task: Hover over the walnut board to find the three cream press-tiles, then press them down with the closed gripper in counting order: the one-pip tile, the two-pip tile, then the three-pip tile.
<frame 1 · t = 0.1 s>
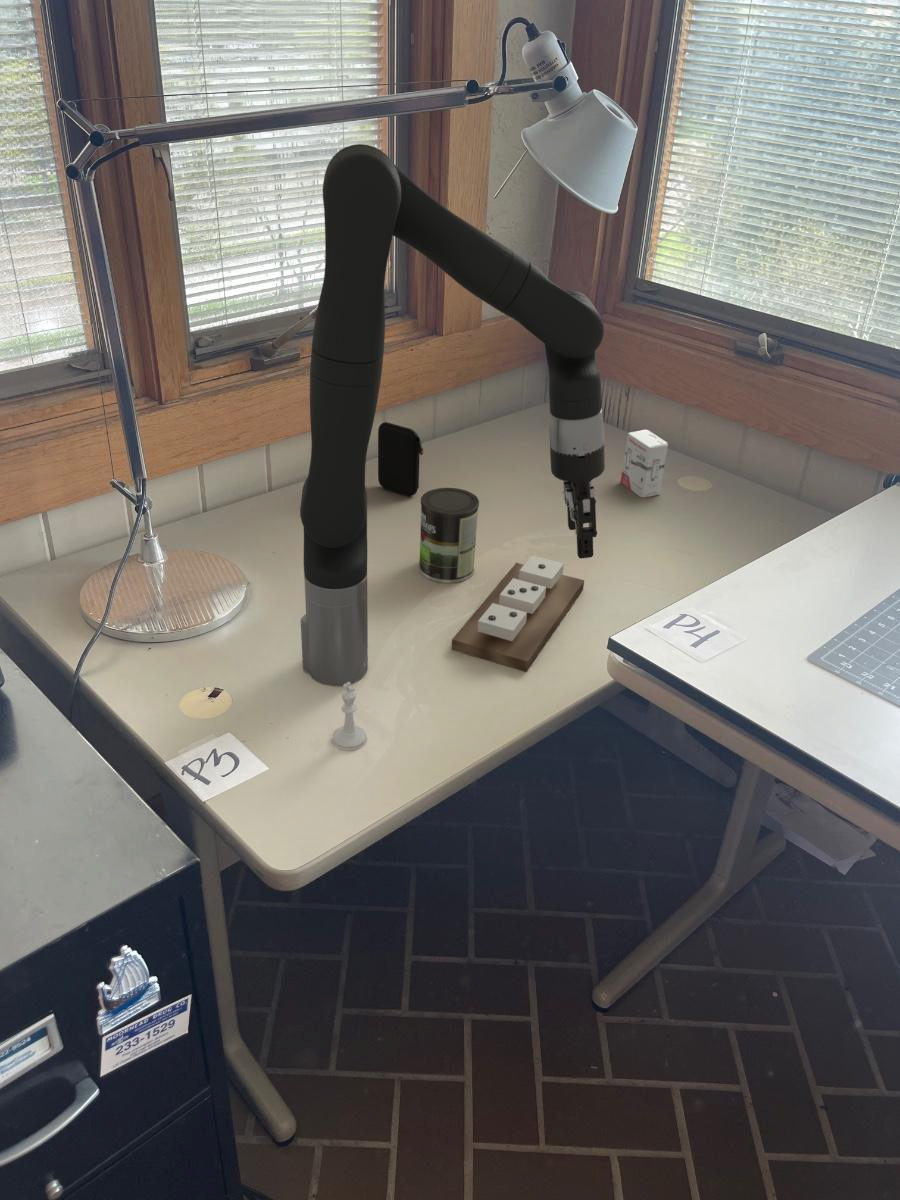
hand: (580, 542, 149), 22 cm above the table, tool pointing down, fingers open, 8 cm apart
tile one: (541, 571, 177), point 5 cm above the table, slide at 0.0 cm
tile three: (522, 595, 170), point 5 cm above the table, slide at 0.0 cm
chess piece: (349, 740, 144), on the table
carrying case or bag: (399, 493, 211), on the table
ink box: (639, 489, 218), on the table
tile two: (502, 621, 163), point 5 cm above the table, slide at 0.0 cm
coffee can: (446, 570, 185), on the table
tile board: (520, 618, 172), on the table
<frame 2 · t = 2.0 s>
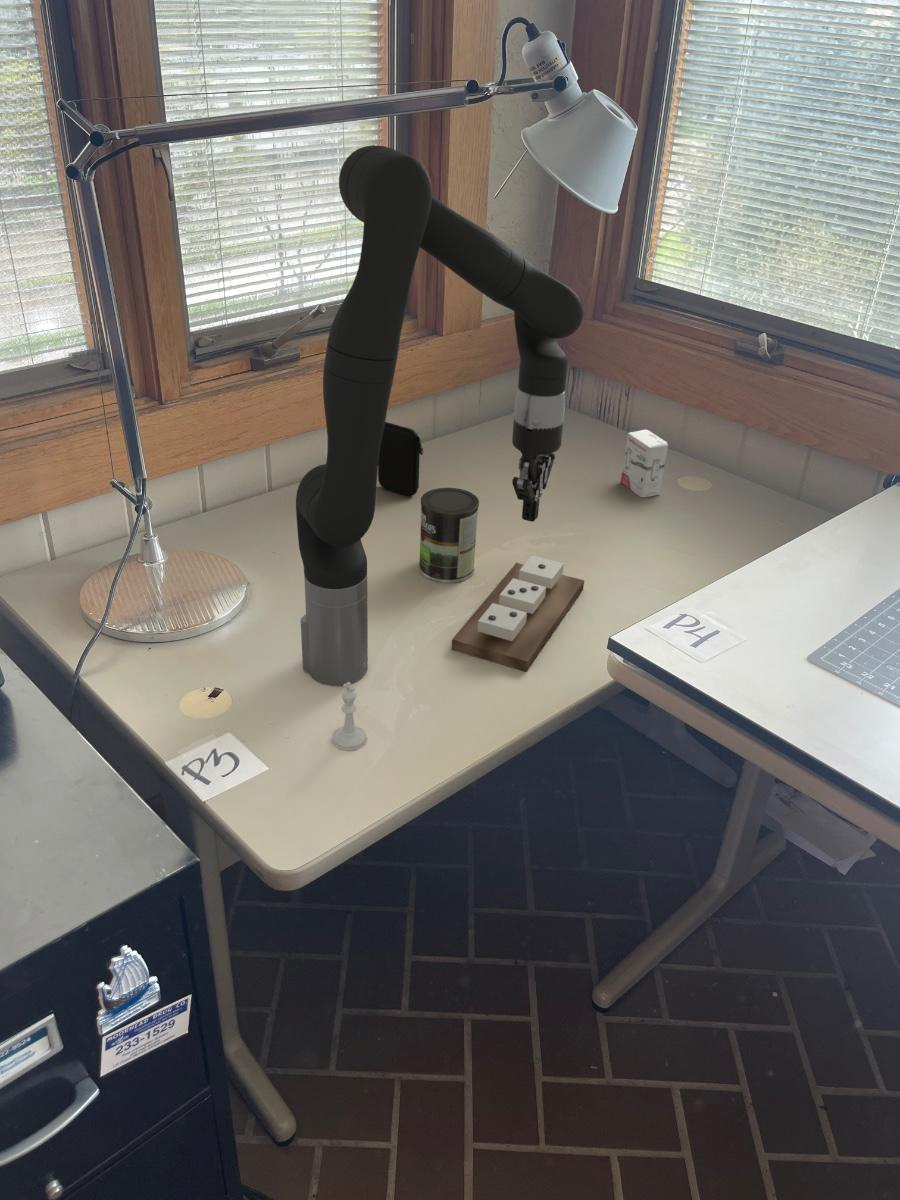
hand: (529, 518, 162), 19 cm above the table, tool pointing down, fingers closed
nothing on the table moved.
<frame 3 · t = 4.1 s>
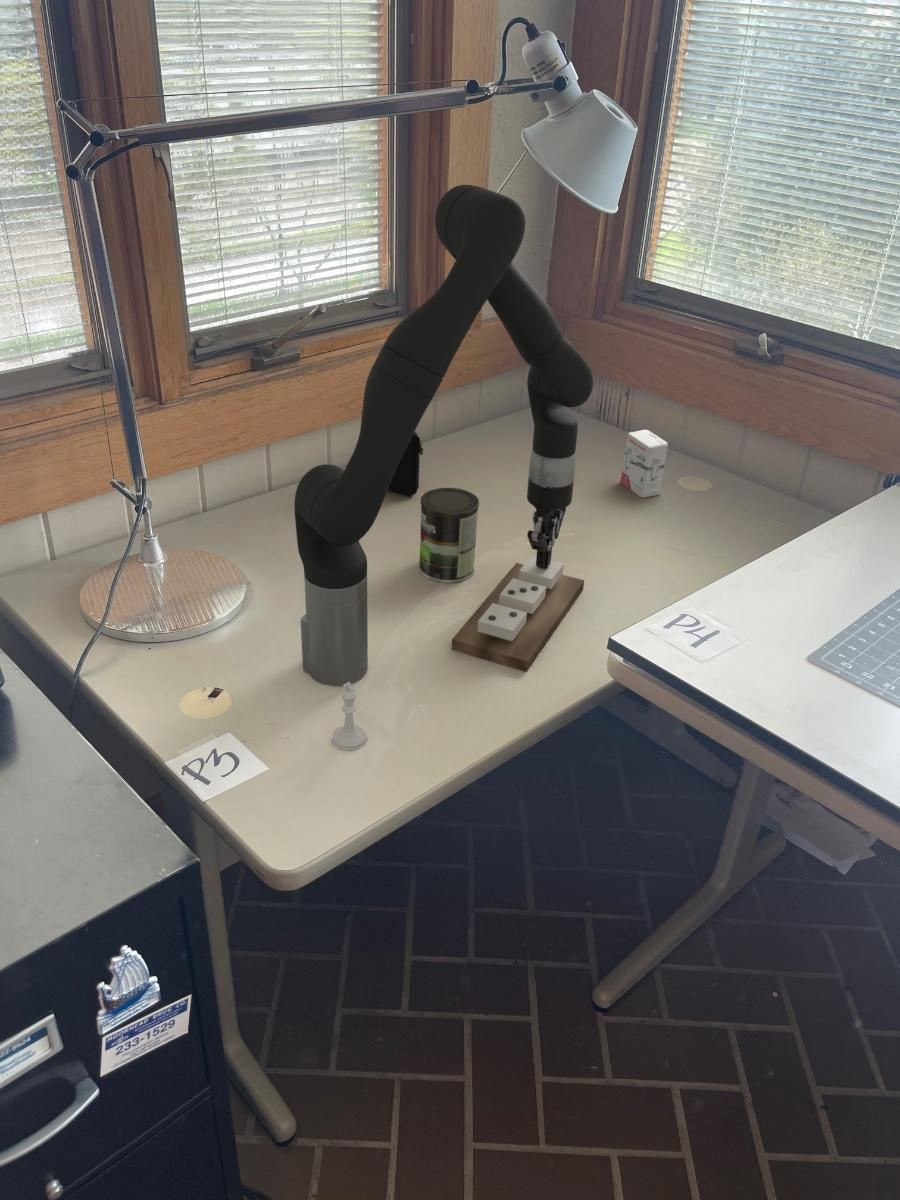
hand: (542, 566, 176), 6 cm above the table, tool pointing down, fingers closed
tile one: (541, 571, 177), point 5 cm above the table, slide at 0.0 cm, touching gripper
everything else where it was.
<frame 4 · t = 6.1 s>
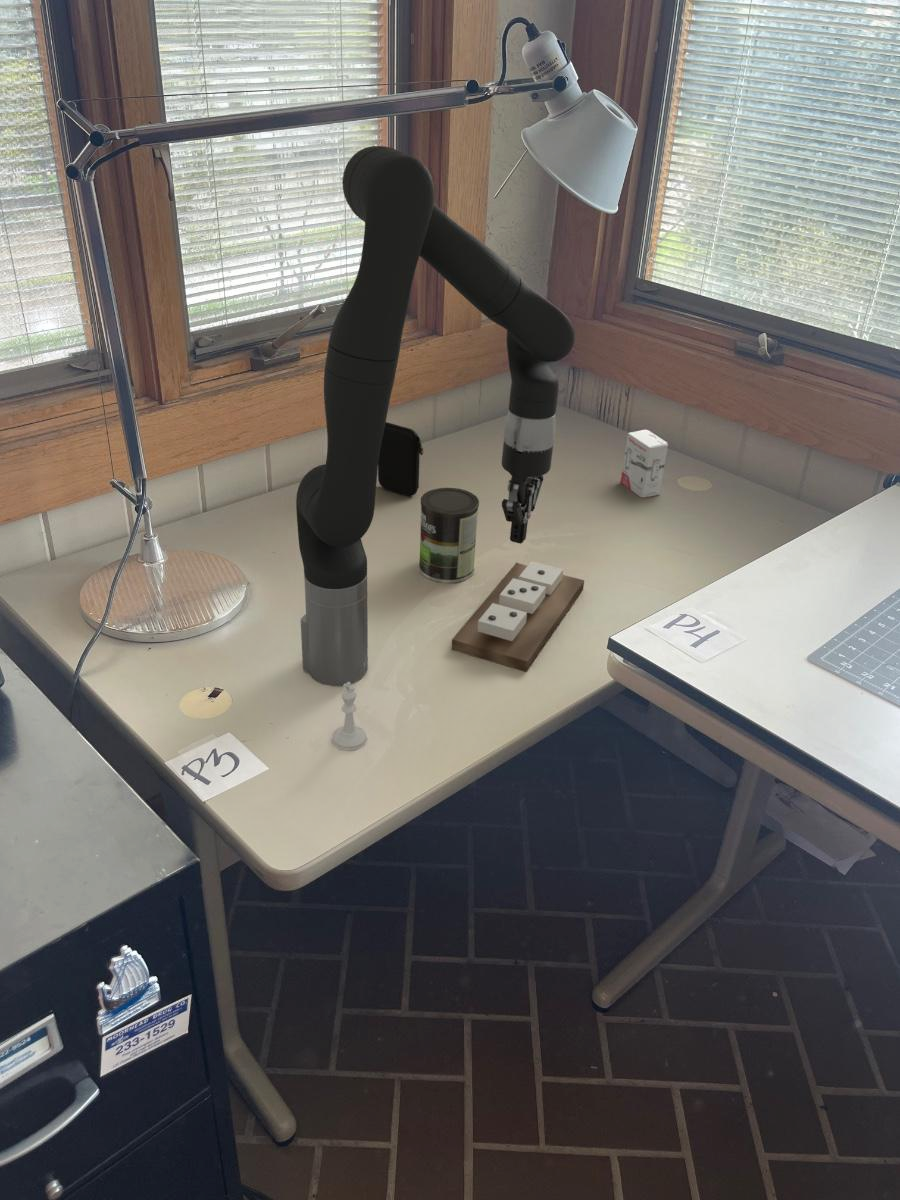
hand: (517, 540, 162), 16 cm above the table, tool pointing down, fingers closed
tile one: (540, 577, 177), point 3 cm above the table, slide at 1.2 cm
everything else where it was.
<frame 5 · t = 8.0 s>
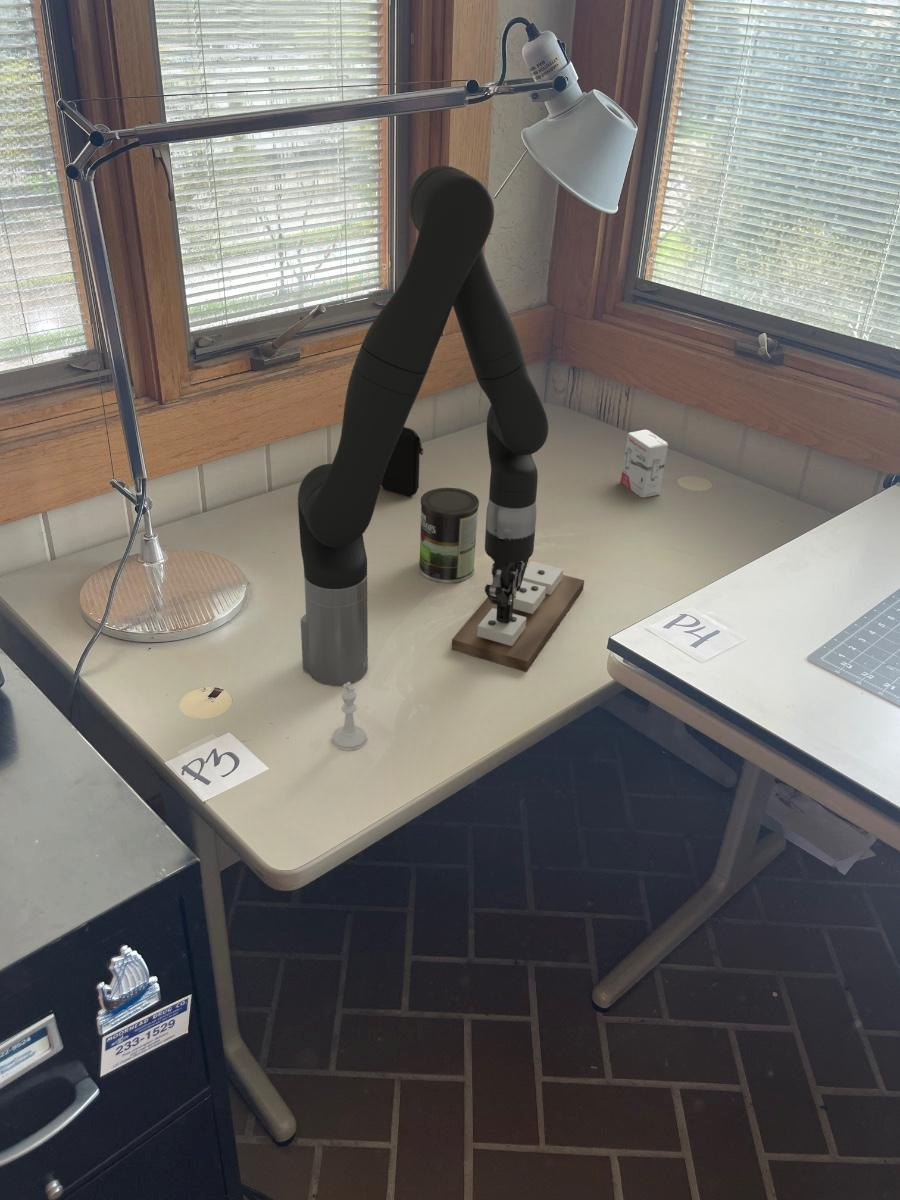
hand: (504, 620, 163), 5 cm above the table, tool pointing down, fingers closed
tile two: (502, 626, 163), point 4 cm above the table, slide at 0.9 cm, touching gripper
everything else where it was.
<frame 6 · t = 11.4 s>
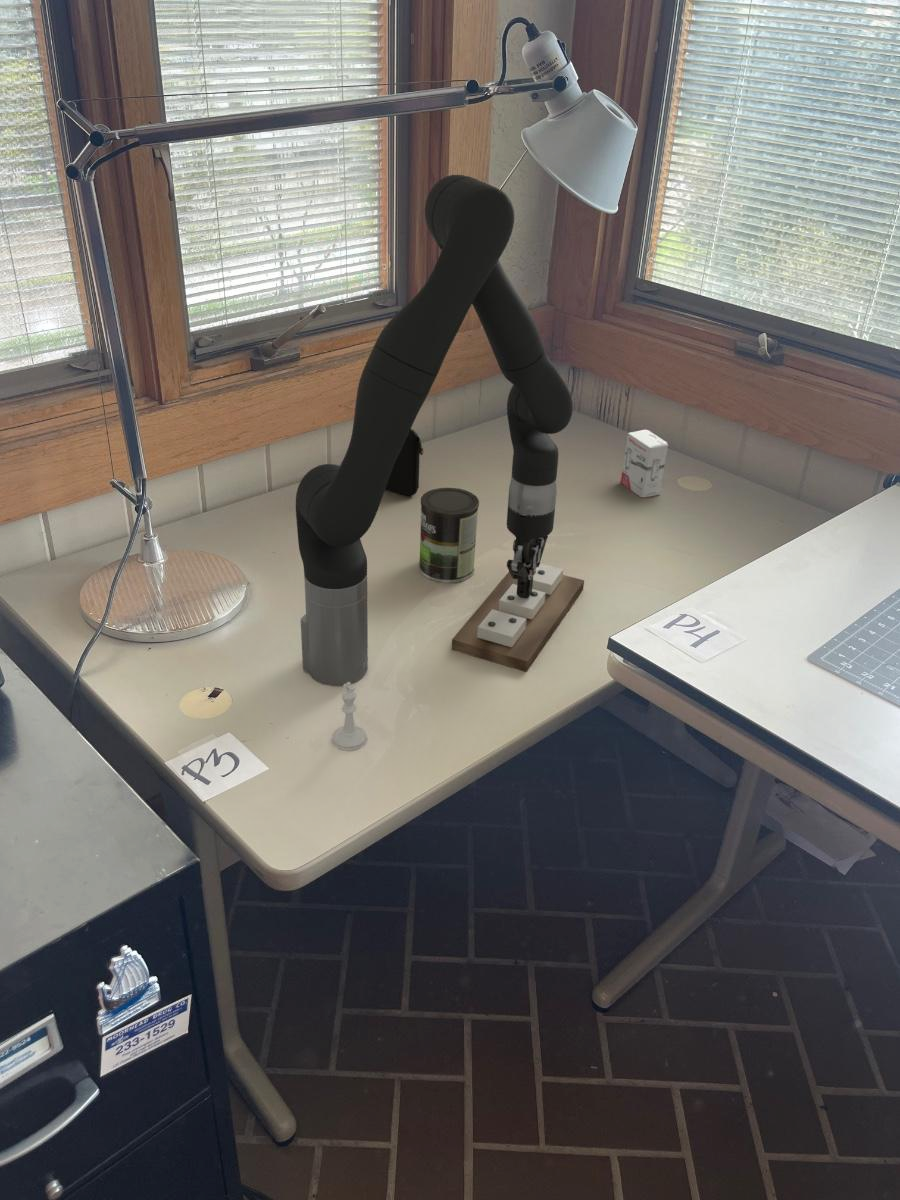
hand: (524, 595, 170), 5 cm above the table, tool pointing down, fingers closed
tile three: (522, 600, 170), point 3 cm above the table, slide at 1.1 cm, touching gripper
tile two: (501, 627, 163), point 3 cm above the table, slide at 1.2 cm
everything else where it was.
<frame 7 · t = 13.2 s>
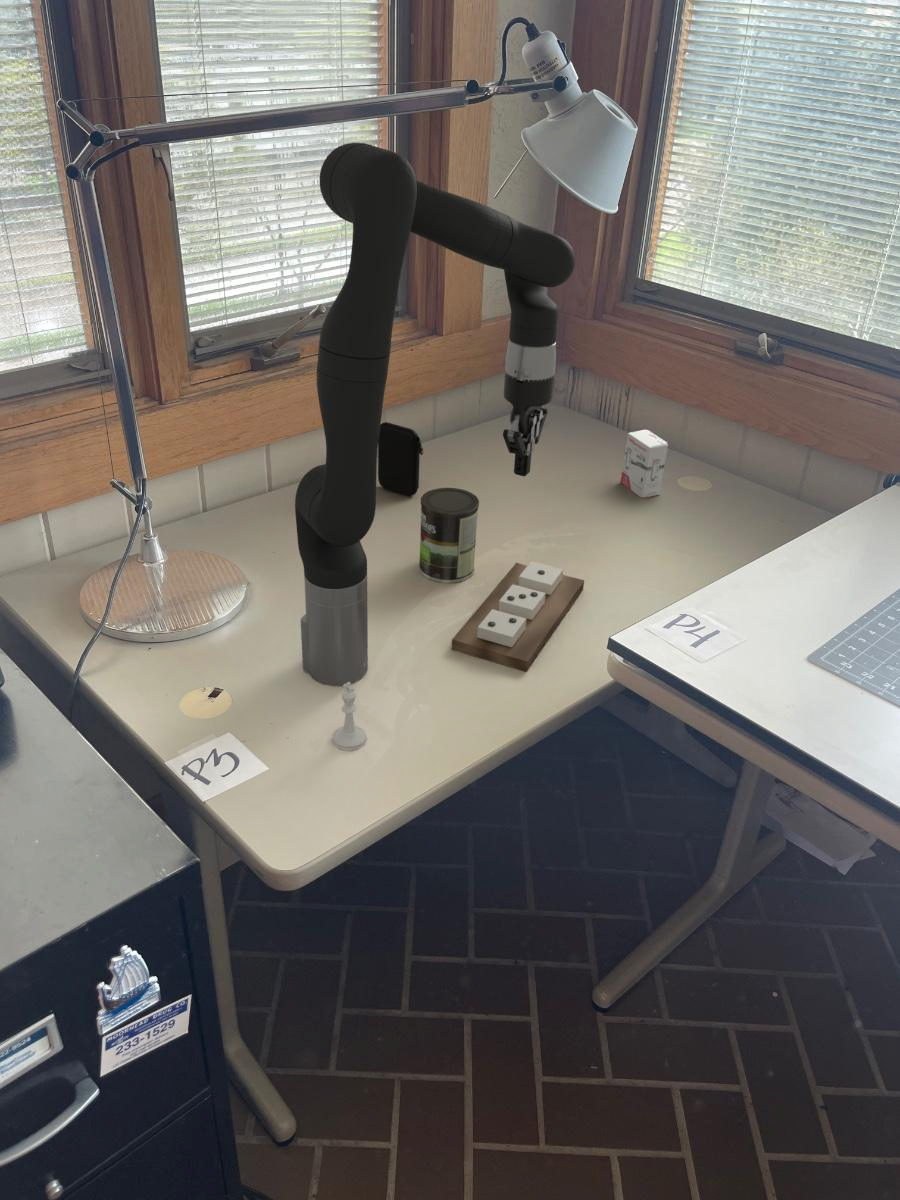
hand: (521, 473, 162), 25 cm above the table, tool pointing down, fingers closed
tile three: (522, 601, 170), point 3 cm above the table, slide at 1.2 cm
everything else where it was.
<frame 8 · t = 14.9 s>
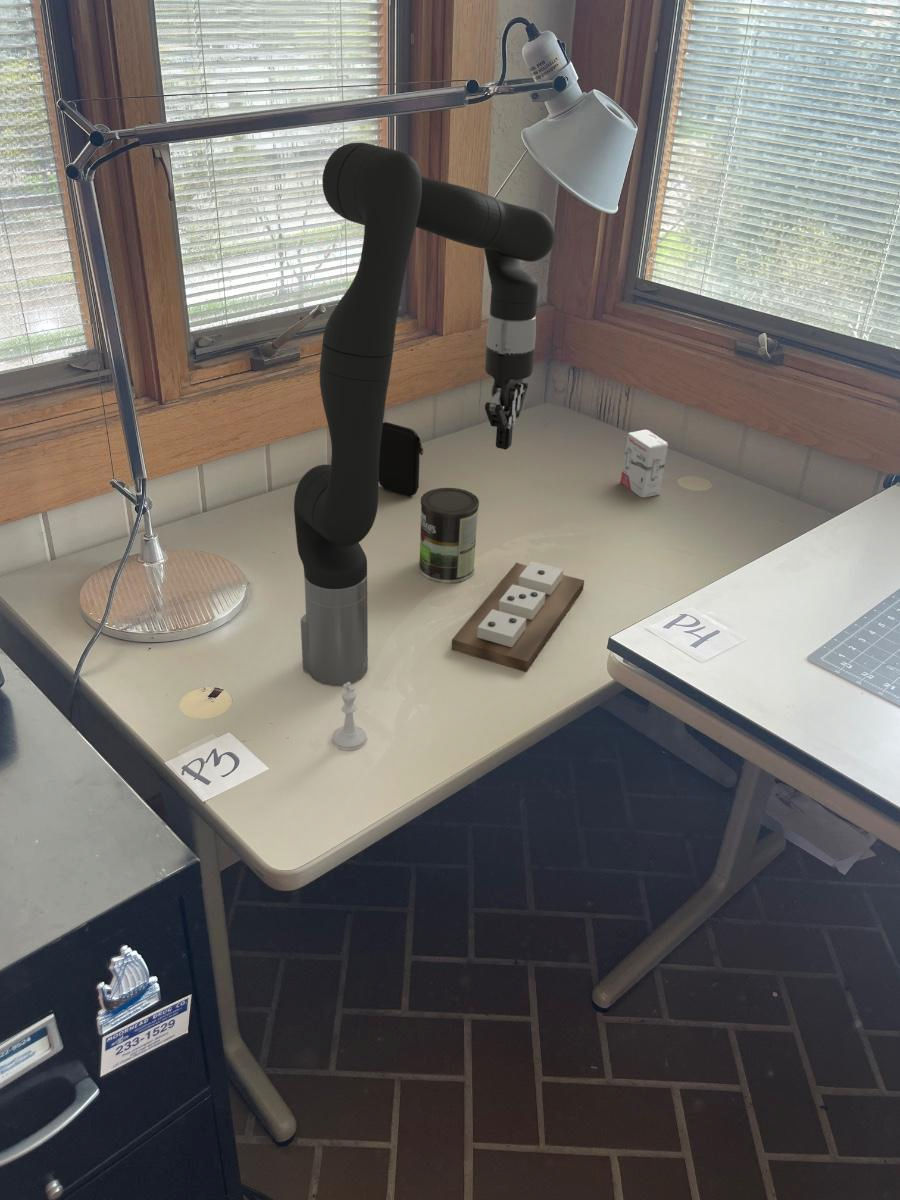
hand: (503, 447, 166), 27 cm above the table, tool pointing down, fingers closed
nothing on the table moved.
at the end: tile one slide at 1.2 cm; tile two slide at 1.2 cm; tile three slide at 1.2 cm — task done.
